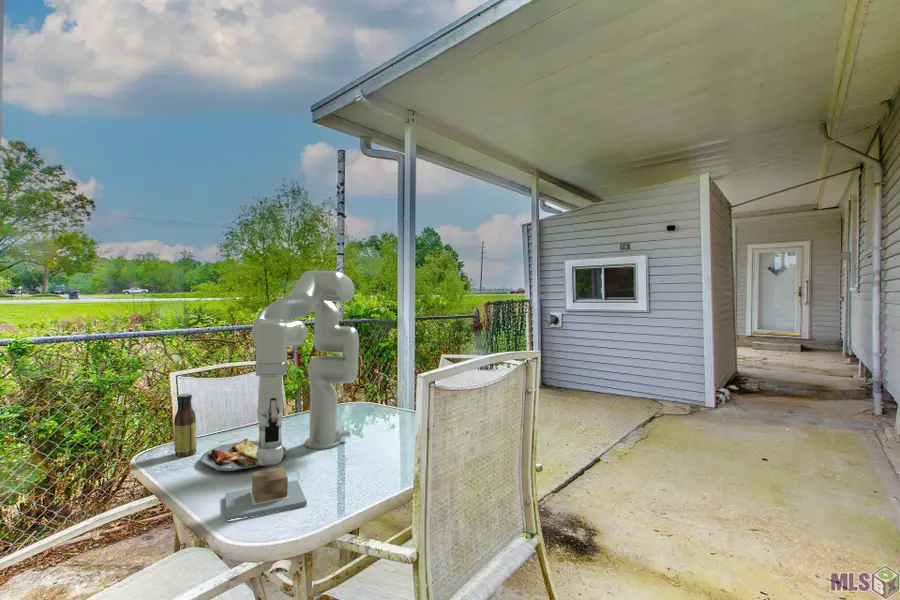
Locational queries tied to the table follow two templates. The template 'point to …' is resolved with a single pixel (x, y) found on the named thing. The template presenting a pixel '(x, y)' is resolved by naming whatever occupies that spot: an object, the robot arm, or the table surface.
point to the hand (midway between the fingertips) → (270, 437)
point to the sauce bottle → (185, 427)
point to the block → (269, 484)
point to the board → (245, 505)
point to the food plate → (233, 456)
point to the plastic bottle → (271, 450)
